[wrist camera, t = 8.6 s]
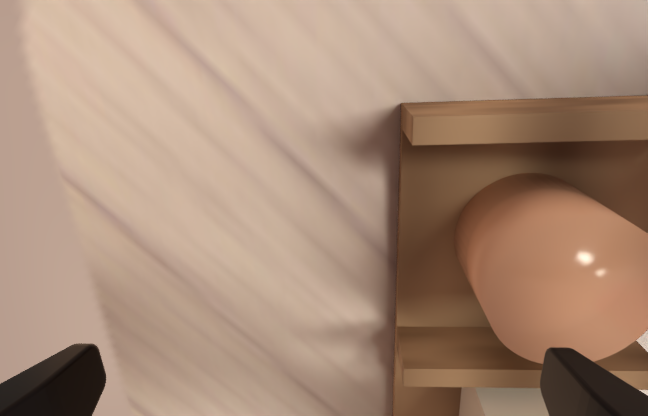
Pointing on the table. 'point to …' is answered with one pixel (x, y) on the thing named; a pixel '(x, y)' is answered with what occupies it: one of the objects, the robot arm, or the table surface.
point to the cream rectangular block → (502, 402)
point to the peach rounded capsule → (554, 267)
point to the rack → (450, 200)
